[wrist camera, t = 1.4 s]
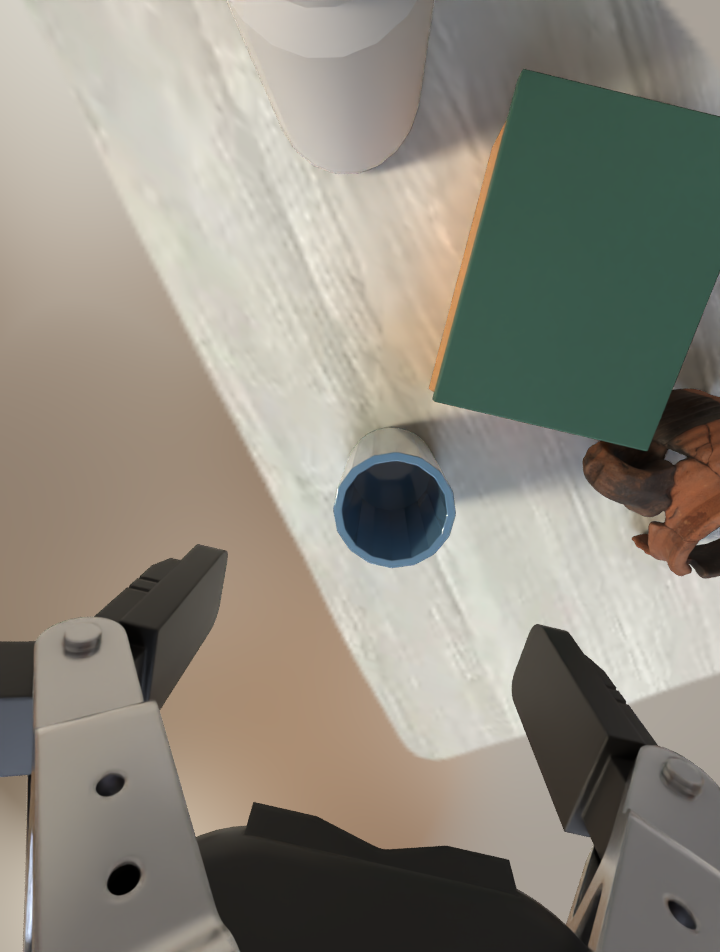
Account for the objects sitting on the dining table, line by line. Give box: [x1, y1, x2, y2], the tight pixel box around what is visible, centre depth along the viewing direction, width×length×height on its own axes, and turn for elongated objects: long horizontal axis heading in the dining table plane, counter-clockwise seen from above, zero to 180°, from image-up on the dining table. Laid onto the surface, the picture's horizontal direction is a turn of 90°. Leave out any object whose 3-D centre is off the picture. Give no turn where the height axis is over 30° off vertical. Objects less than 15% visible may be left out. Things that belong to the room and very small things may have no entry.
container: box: [429, 69, 720, 451], centre depth 23 cm, size 14×11×6 cm
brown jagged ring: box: [583, 389, 720, 578], centre depth 25 cm, size 12×10×8 cm
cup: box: [333, 427, 456, 568], centre depth 25 cm, size 6×6×8 cm
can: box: [226, 0, 434, 174], centre depth 18 cm, size 8×8×12 cm
